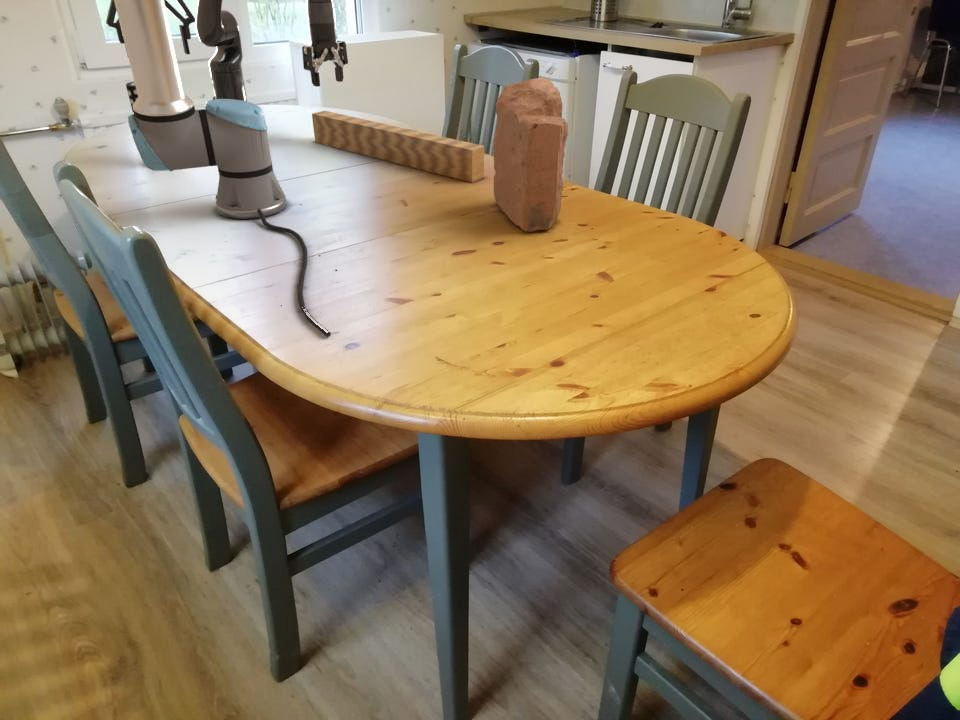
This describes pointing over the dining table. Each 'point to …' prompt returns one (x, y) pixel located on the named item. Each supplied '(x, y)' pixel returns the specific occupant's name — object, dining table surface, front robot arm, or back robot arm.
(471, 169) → the beam
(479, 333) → the dining table surface
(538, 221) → the stone
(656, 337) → the dining table surface
